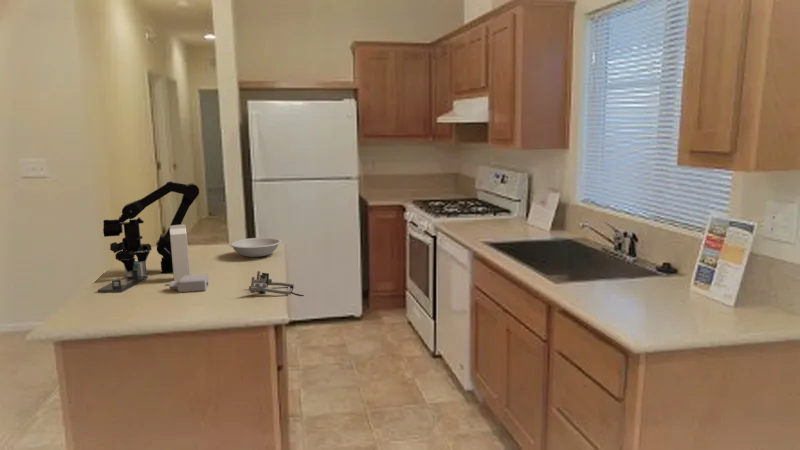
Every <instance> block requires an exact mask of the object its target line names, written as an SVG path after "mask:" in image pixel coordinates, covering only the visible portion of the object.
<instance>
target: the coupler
mask: <svg viewBox="0 0 800 450" xmlns="http://www.w3.org/2000/svg"><path fill="white" fill-rule="evenodd" d="M146 261H147V260H146ZM146 261H138V260H135V262H134V267H133V269H138V273H137V276H146V275H147V273H148V272H147V262H146ZM123 265H124V264H123ZM123 267H124V277H125V276H127V270H126V267H125V265H124V266H123Z"/></svg>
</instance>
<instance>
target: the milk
mask: <svg viewBox="0 0 800 450" xmlns="http://www.w3.org/2000/svg"><path fill="white" fill-rule="evenodd" d="M169 227H170V241H171V252H172V264H173V273H172V274H173V281H178V280H179V279H180V278H181V277H182V276H188V275H191V270H190V259H189V247H188V235H187V228H186V227H187V226H186V224H181V225H171V226H170V225H169V226H168V228H169Z"/></svg>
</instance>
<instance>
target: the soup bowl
mask: <svg viewBox="0 0 800 450" xmlns="http://www.w3.org/2000/svg"><path fill="white" fill-rule="evenodd" d="M282 242H283V241H282V240H281V239H279V238H275V237H252V238H251V237H250V238H242V239H236V240H233V241H231V242H229V244H228V245H229V247H231V248H233V250H234V251H235V252H236V253H237V254H238V255H241V256H243V257H249V258H257V257H265V256H268V255H271V254H272V253H274V252H275V251H276V250H277V248H278V246H279V245H280V244H282Z"/></svg>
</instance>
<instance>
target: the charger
mask: <svg viewBox="0 0 800 450" xmlns="http://www.w3.org/2000/svg"><path fill="white" fill-rule="evenodd" d="M209 280H210V279H209V274H190V275H188V276H182V277H181V278H180V279H179V280H178V281H174V280H171V281H170V282H169V283H164V286H163V287H169V289H170V290H171V289H177V290H178V292H180V293H191V292H192V293H194V292H195V293H196V292H205V291H207V289H208V288H209V285H210V281H209Z"/></svg>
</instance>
